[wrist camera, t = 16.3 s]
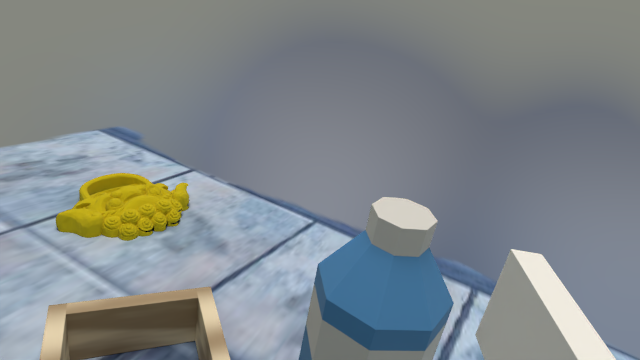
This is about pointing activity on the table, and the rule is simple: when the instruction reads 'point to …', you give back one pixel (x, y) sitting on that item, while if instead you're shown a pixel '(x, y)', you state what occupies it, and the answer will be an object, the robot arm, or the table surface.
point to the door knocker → (123, 207)
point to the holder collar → (134, 325)
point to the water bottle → (380, 291)
